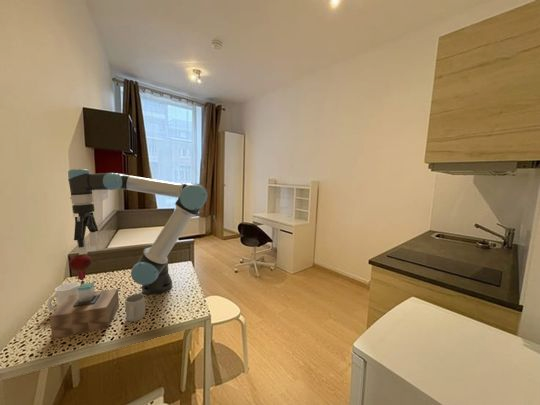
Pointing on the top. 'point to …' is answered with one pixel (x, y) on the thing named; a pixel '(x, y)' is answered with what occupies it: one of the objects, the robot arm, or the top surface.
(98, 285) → the top surface
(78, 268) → the lantern
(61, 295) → the mug
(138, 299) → the cup
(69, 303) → the socket block
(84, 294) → the peg
